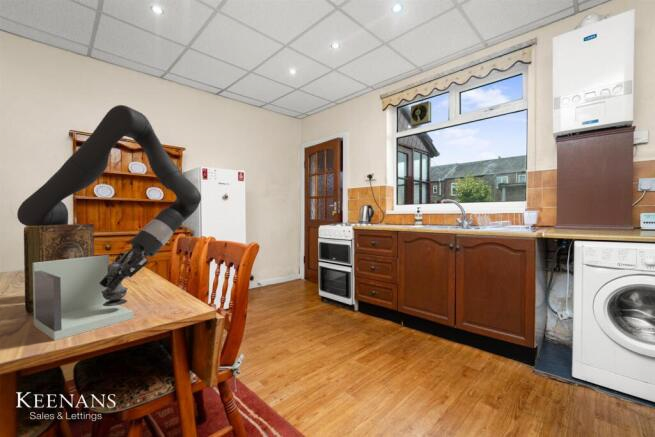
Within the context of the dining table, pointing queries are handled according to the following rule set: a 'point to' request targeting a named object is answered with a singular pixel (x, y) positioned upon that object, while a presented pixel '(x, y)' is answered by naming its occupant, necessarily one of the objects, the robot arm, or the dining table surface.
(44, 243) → the book
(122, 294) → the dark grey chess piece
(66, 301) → the shelf
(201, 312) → the dining table surface
